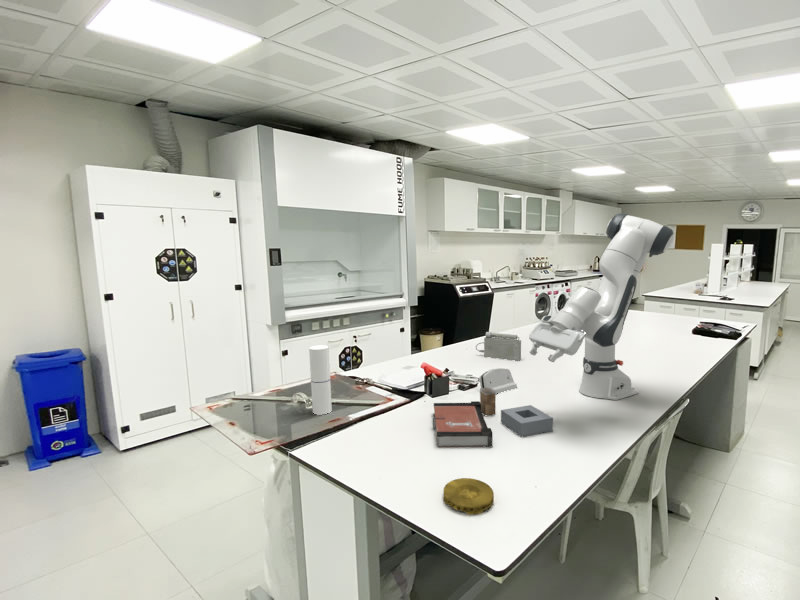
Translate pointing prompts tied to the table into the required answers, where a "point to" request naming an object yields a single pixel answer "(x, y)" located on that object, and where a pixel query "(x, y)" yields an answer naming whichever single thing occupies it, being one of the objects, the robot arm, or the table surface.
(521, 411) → the socket block
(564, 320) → the robot arm
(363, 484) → the table surface
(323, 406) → the cylindrical container
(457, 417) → the book
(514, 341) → the geiger counter
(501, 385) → the hinge
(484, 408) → the peg
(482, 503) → the gold round disc
